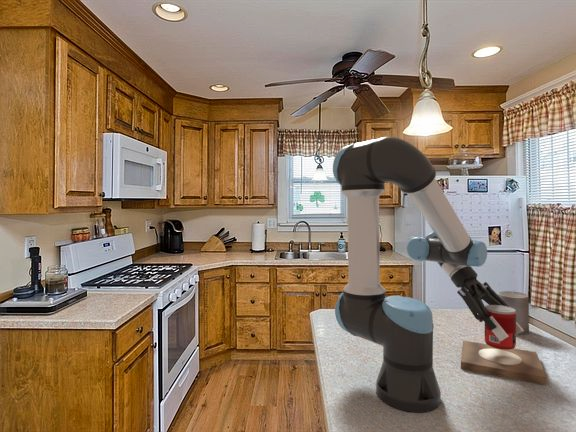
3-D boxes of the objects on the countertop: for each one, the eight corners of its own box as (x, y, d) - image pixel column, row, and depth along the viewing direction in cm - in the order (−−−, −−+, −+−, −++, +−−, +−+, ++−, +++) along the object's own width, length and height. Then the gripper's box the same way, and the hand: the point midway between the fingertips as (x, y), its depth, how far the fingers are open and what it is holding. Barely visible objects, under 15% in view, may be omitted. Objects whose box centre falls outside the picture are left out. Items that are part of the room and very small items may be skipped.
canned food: (520, 351, 98) (520, 312, 98) (490, 349, 100) (490, 311, 100) (509, 340, 106) (509, 305, 105) (480, 339, 107) (480, 304, 107)
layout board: (460, 368, 100) (460, 360, 100) (463, 346, 115) (463, 339, 115) (546, 384, 90) (546, 376, 90) (536, 358, 106) (536, 351, 106)
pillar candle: (514, 325, 136) (514, 287, 136) (535, 333, 126) (535, 293, 126) (492, 326, 135) (491, 288, 134) (511, 335, 125) (511, 294, 125)
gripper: (470, 275, 121) (520, 334, 107) (432, 282, 110) (483, 349, 97) (485, 261, 116) (539, 322, 103) (447, 268, 105) (502, 337, 92)
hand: (512, 335), depth 100 cm, fingers closed on canned food, 8 cm apart
